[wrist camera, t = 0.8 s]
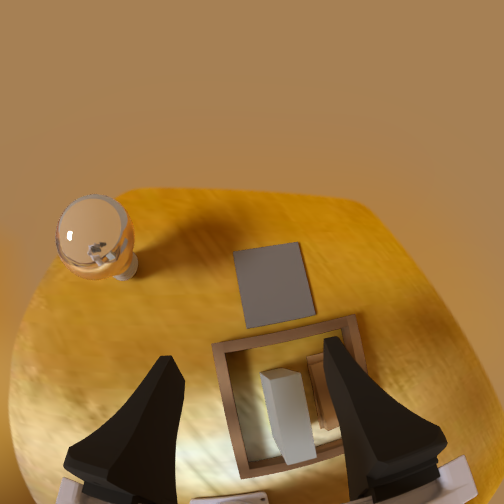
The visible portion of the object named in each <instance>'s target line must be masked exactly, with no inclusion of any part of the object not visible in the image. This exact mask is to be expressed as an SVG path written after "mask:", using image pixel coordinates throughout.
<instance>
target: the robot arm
mask: <svg viewBox="0 0 504 504" xmlns="http://www.w3.org/2000/svg"><path fill="white" fill-rule="evenodd" d="M323 368H324V373H325V378H326V383H327V387H328V390H329V394H330V397H331V400H332V403H333V406H334V409H335V413H336V416H337V419H338V422H339V426H340V430H341V436H342V441H343V447H344V454H345V460H346V468H347V476H348V486H349V497H350V502H347V503H342V504H464V503H466V502H467V501H469V500H471V499H472V498H474V497H475V496H477V494H478V492H477V489H476V486H475V482H474V479H473V477H472V474H471V471H470V468H469V465H468V463H467V460H466V457H465V455H461V456H459V457H458V458H456V459H454V460H452V461H450V462H448V463H446V464H444V465H443V466H441V467H439V468H437V465H436V464H437V463H438V459H437V455H438V454H439V453H440V452H441V451H442V450H443V449H444V448H445V447H446V446H447V443H448V442H447V440H446V437H445V435H444V434H443V432H442V430H441V429H440V427H439V426H437V425H435V424H433V423H431V422H429V421H427V420H425V419H423V418H421V417H420V416H418V415H416V414H415V413H413V412H412V411H410V410H409V409H407V408H406V407H404V406H403V405H401V404H400V403H399V402H397V401H396V400H395V399H393V398H392V397H391V396H390V395H388V394H387V393H386V392H385V391H384V390H383V389H382V388H380V387H379V386H378V385H377V384H376V383H375V382H374V381H373V380H372V379H371V378H370V377H369V376H368V374H367V373H366V372H365V371H364V370H363V369H362V368H361V367H360V365H359V364H358V363H357V362H356V361H355V359H354V358H353V357H352V356H351V354H350V353H349V352H348V350H347V349H346V348H345V346H344V345H343V343H342V342H341V340H340V339H339V337H337V336H335V337H330V338H325V339H324V351H323ZM184 391H185V380H184V378H183V376H182V374H181V372H180V370H179V369H178V367H177V365H176V363H175V361H174V359H173V357H172V356H160V357H159V358H158V360H157V361H156V363H155V364H154V365H153V367H152V368H151V370H150V371H149V373H148V374H147V375H146V377H145V378H144V380H143V381H142V382H141V384H140V385H139V386H138V388H137V389H136V390H135V392H134V393H133V394H132V395H131V397H130V398H129V399H128V400H127V402H126V403H125V404H124V405H123V406H122V407H121V408H120V409H119V410H118V411H117V413H116V414H115V415H114V416H112V417H111V418H110V419H109V420H108V421H107V422H106V423H105V424H103V425H102V426H101V427H100V428H99V429H97V430H96V431H95V432H93V433H92V434H91V435H89V436H88V437H86V438H85V439H83V440H81V441H80V442H78V443H76V444H74V445H73V446H71V447H69V449H68V452H67V455H66V458H65V461H64V464H63V466H64V468H65V469H66V470H67V471H69V472H70V473H72V474H73V475H75V476H77V477H78V478H80V479H82V480H83V481H84V485H82V484H80V483H78V482H76V481H73V480H71V479H68V478H66V477H63V478H62V482H61V485H60V489H59V493H58V496H57V500H56V504H178V503H177V494H176V480H175V453H176V439H177V432H178V427H179V422H180V417H181V412H182V406H183V401H184ZM261 498H265V499H264V500H261ZM190 504H269V502H268V498H267V494H266V493H265V492H263V491H262V492H255V493H249V494H242V495H234V496H226V497H215V498H199V499H191V500H190Z"/></svg>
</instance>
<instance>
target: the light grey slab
mask: <svg viewBox="0 0 504 504" xmlns="http://www.w3.org/2000/svg"><path fill="white" fill-rule="evenodd" d="M260 377H261V382H262V387H263V392H264V397H265V402H266V407H267V412H268V416H269V421H270V426H271V431H272V436H273V438H274V440H275V442H276V444H277V446H278V448H279V450H280V452H281V454H282V456H283V458H284V460H285V462H286V464H287V465H291V464H295V463H299V462H303V461H306V460H310V459H313V458H317V456H316V450H315V444H314V439H313V433H312V428H311V423H310V417H309V412H308V407H307V402H306V397H305V391H304V386H303V381H302V376H301V373H299V372H295V371H292V370H288V369H284V368H278V369H273V370H269V371H264V372H260Z"/></svg>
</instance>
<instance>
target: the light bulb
mask: <svg viewBox="0 0 504 504" xmlns="http://www.w3.org/2000/svg"><path fill="white" fill-rule="evenodd" d="M55 239H56V247H57V251H58V254H59V256H60V258H61V260H62V262H63V263H64V265H65V266H66V267H67V268H68V269H69V270H70V271H71V272H72V273H74V274H75V275H77V276H78V277H81V278H84V279H87V280H103V279H107V278H109V277H112V276H113V277H115V278H116V279H118V280H121V281H125V280H128V279H130V278H131V277H133V275H134V274H135V273H136V271H137V268H138V259H137V256H136V255H135V253H134V252H133V248H134V243H135V232H134V226H133V222H132V220H131V218H130V216H129V214H128V212H127V211H126V210H125V208H124V207H123V206H122V205H121V204H120V203H119V202H117V201H116V200H114V199H113V198H110V197H108V196H105V195H98V194H90V195H87V196H83V197H80V198H78V199H77V200H75V201H73V202H72V203H71V204H70V205H69V206H67V208H66V209H65V210H64V211H63V213H62V215H61V216H60V219H59V221H58V224H57V228H56V236H55Z"/></svg>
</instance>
